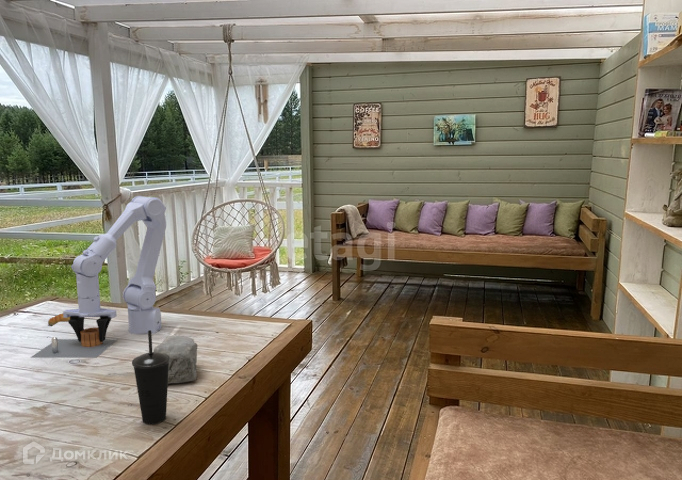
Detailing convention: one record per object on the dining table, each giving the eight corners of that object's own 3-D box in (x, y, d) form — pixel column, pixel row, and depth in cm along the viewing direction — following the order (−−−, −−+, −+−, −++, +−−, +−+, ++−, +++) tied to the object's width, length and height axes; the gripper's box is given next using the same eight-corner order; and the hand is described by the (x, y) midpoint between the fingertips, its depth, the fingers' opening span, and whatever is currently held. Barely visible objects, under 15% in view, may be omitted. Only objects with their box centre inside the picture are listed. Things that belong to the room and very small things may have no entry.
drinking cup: (141, 410, 114) (136, 325, 111) (176, 409, 114) (172, 324, 111) (130, 428, 106) (124, 337, 103) (167, 427, 107) (163, 336, 104)
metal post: (59, 351, 143) (58, 336, 143) (56, 353, 142) (55, 338, 141) (54, 351, 143) (53, 336, 143) (51, 353, 142) (50, 338, 141)
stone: (151, 369, 136) (149, 333, 134) (196, 363, 140) (195, 329, 138) (152, 390, 124) (149, 351, 122) (200, 383, 128) (199, 345, 126)
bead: (105, 340, 153) (105, 327, 152) (97, 347, 147) (96, 333, 146) (87, 340, 152) (86, 327, 152) (77, 347, 147) (76, 333, 146)
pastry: (50, 328, 167) (49, 317, 167) (46, 323, 172) (45, 312, 172) (81, 323, 173) (80, 312, 173) (76, 318, 178) (75, 307, 178)
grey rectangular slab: (117, 344, 154) (117, 339, 153) (96, 362, 140) (96, 357, 140) (57, 343, 153) (57, 339, 153) (30, 362, 139) (30, 357, 139)
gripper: (56, 299, 143) (60, 345, 145) (108, 299, 144) (111, 345, 146) (68, 293, 150) (72, 336, 152) (118, 293, 151) (121, 337, 153)
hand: (92, 340), depth 150 cm, fingers closed on bead, 6 cm apart
